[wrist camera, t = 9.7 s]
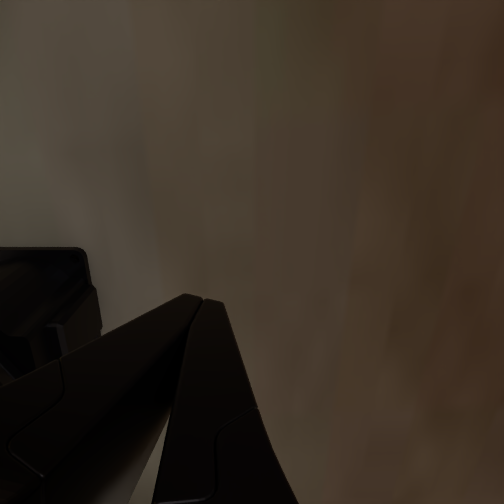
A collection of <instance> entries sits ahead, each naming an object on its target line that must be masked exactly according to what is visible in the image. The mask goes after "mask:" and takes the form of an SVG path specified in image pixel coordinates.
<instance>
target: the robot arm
mask: <svg viewBox="0 0 504 504" xmlns="http://www.w3.org/2000/svg"><path fill="white" fill-rule="evenodd" d="M73 254H74V255H77V256H78V257H79V261H78V260H76V259H74V257H73ZM101 329H102V320H101V314H100V308H99V302H98V297H97V291H96V288H95V287H94V286H93V285H92V281H91V276H90V270H89V264H88V259H87V255H86V252H85V251H84V250H83V249H81V248H78V247H0V504H128V502H129V500H130V497H131V495H132V493H133V491H134V489H135V487H136V485H137V483H138V481H139V478H140V476H141V474H142V472H143V470H144V468H145V466H146V464H147V462H148V460H149V457H150V455H151V453H152V451H153V449H154V447H155V445H156V443H157V441H158V439H159V436H160V434H161V432H162V430H163V428H164V426H165V424H166V422H167V420H168V417H169V415H170V417H169V422H168V427H167V432H166V436H165V441H164V446H163V451H162V455H161V460H160V465H159V470H158V474H157V479H156V484H155V489H154V493H153V498H152V503H151V504H299V503H298V501H297V499H296V497H295V495H294V493H293V491H292V489H291V487H290V485H289V483H288V481H287V479H286V477H285V475H284V472H283V470H282V468H281V466H280V464H279V461H278V459H277V457H276V455H275V453H274V451H273V448H272V445H271V443H270V440H269V437H268V435H267V432H266V429H265V427H264V424H263V421H262V418H261V415H260V412H259V410H258V409H257V408H258V406H257V403H256V400H255V397H254V394H253V391H252V388H251V385H250V382H249V379H248V376H247V373H246V370H245V366H244V363H243V360H242V357H241V354H240V351H239V348H238V345H237V342H236V339H235V336H234V333H233V330H232V327H231V324H230V321H229V318H228V315H227V312H226V309H225V306H224V303H223V302H220V301H216V300H211V299H204V300H203V299H202V298H201V297H199V296H195V295H191V294H186V293H185V294H182V295H180V296H178V297H176V298H174V299H172V300H170V301H168V302H166V303H164V304H162V305H160V306H159V307H157V308H155V309H153V310H151V311H149V312H147V313H145V314H143V315H141V316H139V317H137V318H135V319H133V320H131V321H130V322H128V323H126V324H124V325H122V326H120V327H118V328H116V329H114V330H112V331H110V332H108V333H106V334H104V335H102V336H101V333H100V330H101Z"/></svg>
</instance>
